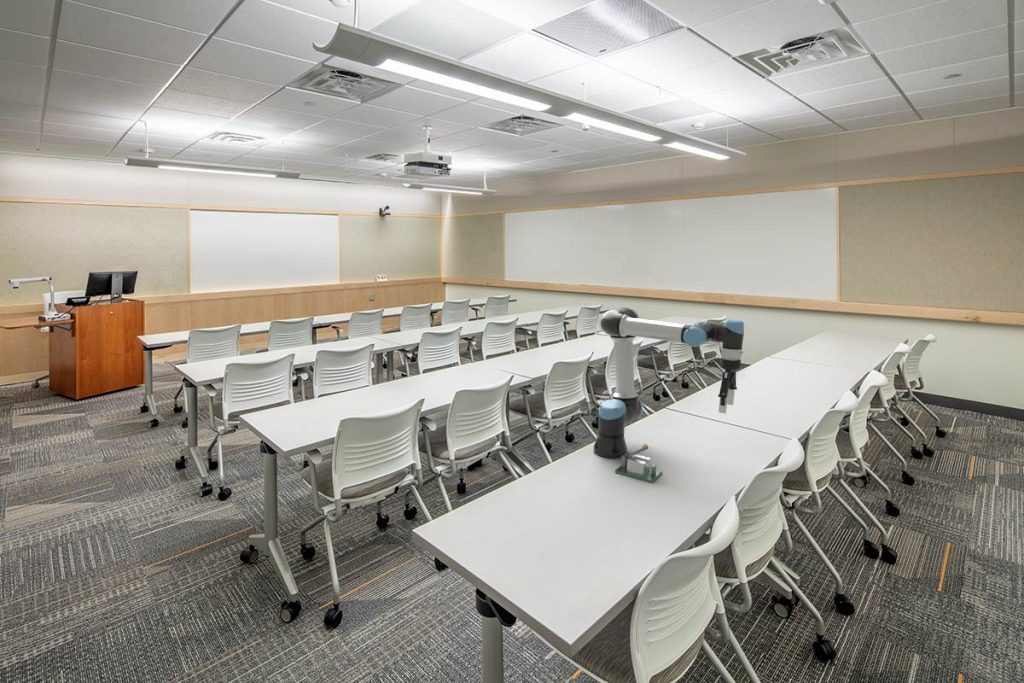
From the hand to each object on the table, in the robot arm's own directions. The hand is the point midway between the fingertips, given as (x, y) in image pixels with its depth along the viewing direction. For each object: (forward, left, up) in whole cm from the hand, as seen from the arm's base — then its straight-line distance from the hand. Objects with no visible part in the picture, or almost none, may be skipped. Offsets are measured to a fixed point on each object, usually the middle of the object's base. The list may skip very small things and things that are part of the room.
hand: (726, 408), depth 214 cm
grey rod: (-28, -24, -19) cm, 42 cm away
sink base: (-27, -24, -27) cm, 45 cm away
